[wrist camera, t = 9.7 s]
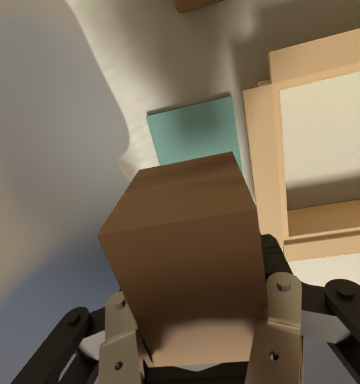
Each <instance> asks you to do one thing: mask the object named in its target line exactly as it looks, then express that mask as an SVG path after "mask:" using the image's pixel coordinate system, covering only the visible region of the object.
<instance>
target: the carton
mask: <svg viewBox="0 0 360 384" xmlns="http://www.w3.org/2000/svg"><path fill="white" fill-rule="evenodd" d="M268 60H269V73H270V79H268V80H263V81H259V82H257V86H258V87H254V88H250V89H246V90H242V94H243V103H244V111H245V119H246V127H247V136H248V144H249V152H250V160H251V168H252V177H253V185H254V193H255V201H256V208H257V213H258V222H259V230H260V233H261V235H264V234H271V235H272V236H273V237H275V238H276V239H277V241H278V243H279V245H280V246H283V254H284V256H285V258H286V260H287V262H290V261H298V260H306V259H314V258H322V257H330V256H338V255H346V254H354V253H360V199H359V200H352V201H346V202H340V203H333V204H327V205H321V206H314V207H308V208H302V209H295V210H289V211H287V200H286V184H285V169H284V153H283V137H282V121H281V105H280V90H283V89H288V88H292V87H296V86H300V85H305V84H309V83H313V82H317V81H321V80H326V79H330V78H334V77H338V76H343V75H347V74H351V73H355V72H360V28H359V29H355V30H351V31H347V32H343V33H340V34H336V35H332V36H328V37H324V38H320V39H317V40H313V41H309V42H305V43H301V44H298V45H294V46H290V47H286V48H282V49H279V50H275V51H271V52H268Z"/></svg>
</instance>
